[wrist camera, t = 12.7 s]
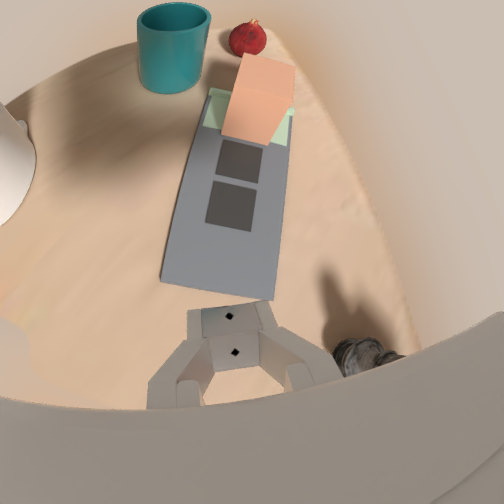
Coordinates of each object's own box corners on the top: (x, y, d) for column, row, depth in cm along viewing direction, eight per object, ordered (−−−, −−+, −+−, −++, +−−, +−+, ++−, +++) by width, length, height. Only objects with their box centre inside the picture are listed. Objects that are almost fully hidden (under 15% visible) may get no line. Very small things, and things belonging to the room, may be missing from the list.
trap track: (160, 282, 28) (159, 280, 27) (209, 94, 34) (210, 87, 33) (271, 301, 31) (276, 300, 29) (291, 114, 37) (294, 108, 35)
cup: (197, 47, 36) (207, -7, 26) (203, 94, 34) (215, 32, 24) (142, 51, 34) (142, -4, 23) (138, 99, 32) (133, 37, 21)
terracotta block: (220, 134, 32) (234, 84, 24) (229, 101, 34) (244, 52, 25) (267, 145, 34) (293, 100, 25) (272, 112, 35) (295, 67, 27)
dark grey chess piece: (339, 329, 32) (410, 332, 20) (374, 344, 33) (444, 349, 21) (321, 375, 30) (387, 398, 19) (357, 387, 31) (425, 407, 19)
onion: (257, 70, 38) (271, 33, 30) (221, 62, 36) (231, 23, 29) (261, 51, 39) (274, 17, 31) (228, 44, 38) (238, 8, 30)
